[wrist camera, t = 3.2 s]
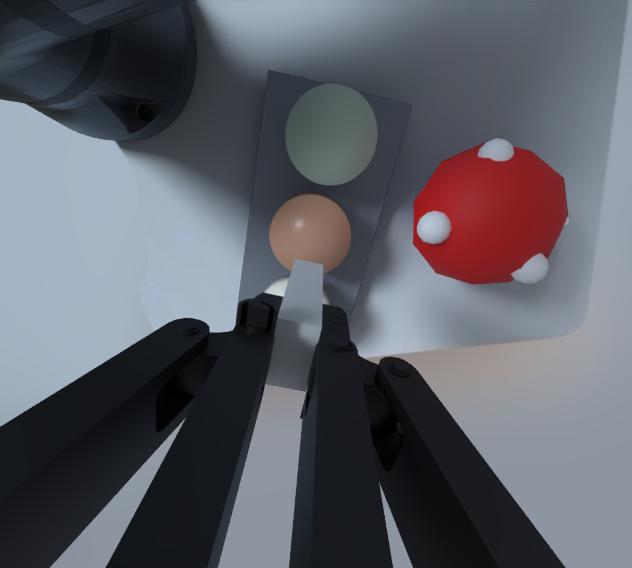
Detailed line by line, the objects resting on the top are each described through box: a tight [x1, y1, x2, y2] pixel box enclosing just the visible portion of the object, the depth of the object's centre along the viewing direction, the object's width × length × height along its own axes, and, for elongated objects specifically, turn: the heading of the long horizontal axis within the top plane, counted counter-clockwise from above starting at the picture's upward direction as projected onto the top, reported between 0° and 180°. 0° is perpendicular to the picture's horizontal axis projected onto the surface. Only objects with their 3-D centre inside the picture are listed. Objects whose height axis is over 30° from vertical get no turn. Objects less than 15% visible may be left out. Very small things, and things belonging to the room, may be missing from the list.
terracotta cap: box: [269, 192, 351, 274], centre depth 26 cm, size 7×7×2 cm
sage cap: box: [285, 84, 378, 185], centre depth 23 cm, size 7×7×2 cm
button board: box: [236, 70, 412, 325], centre depth 30 cm, size 12×23×3 cm, turn 168°
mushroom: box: [413, 138, 570, 284], centre depth 25 cm, size 11×11×12 cm
